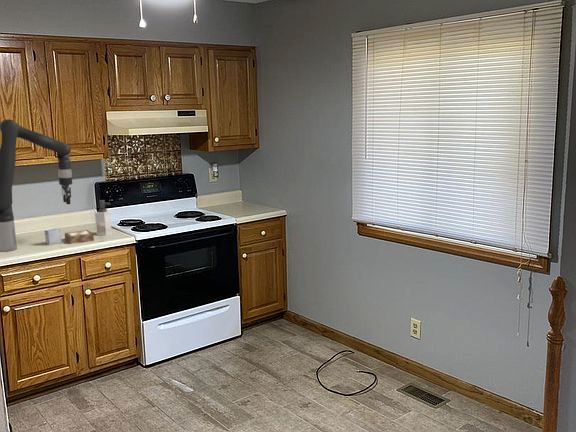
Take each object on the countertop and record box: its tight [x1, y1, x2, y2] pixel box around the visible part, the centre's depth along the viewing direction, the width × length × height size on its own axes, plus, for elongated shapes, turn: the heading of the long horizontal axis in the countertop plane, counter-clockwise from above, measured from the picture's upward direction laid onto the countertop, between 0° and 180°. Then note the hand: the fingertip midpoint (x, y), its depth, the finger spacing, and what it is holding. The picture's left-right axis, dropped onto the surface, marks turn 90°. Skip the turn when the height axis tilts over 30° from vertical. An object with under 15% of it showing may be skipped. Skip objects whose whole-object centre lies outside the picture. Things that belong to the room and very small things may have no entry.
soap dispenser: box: [95, 199, 113, 236], centre depth 369 cm, size 6×9×22 cm
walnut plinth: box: [64, 229, 95, 245], centre depth 357 cm, size 14×14×4 cm
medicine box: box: [44, 227, 62, 246], centre depth 349 cm, size 8×4×9 cm, turn 141°
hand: (66, 203), depth 350 cm, fingers open, 8 cm apart
